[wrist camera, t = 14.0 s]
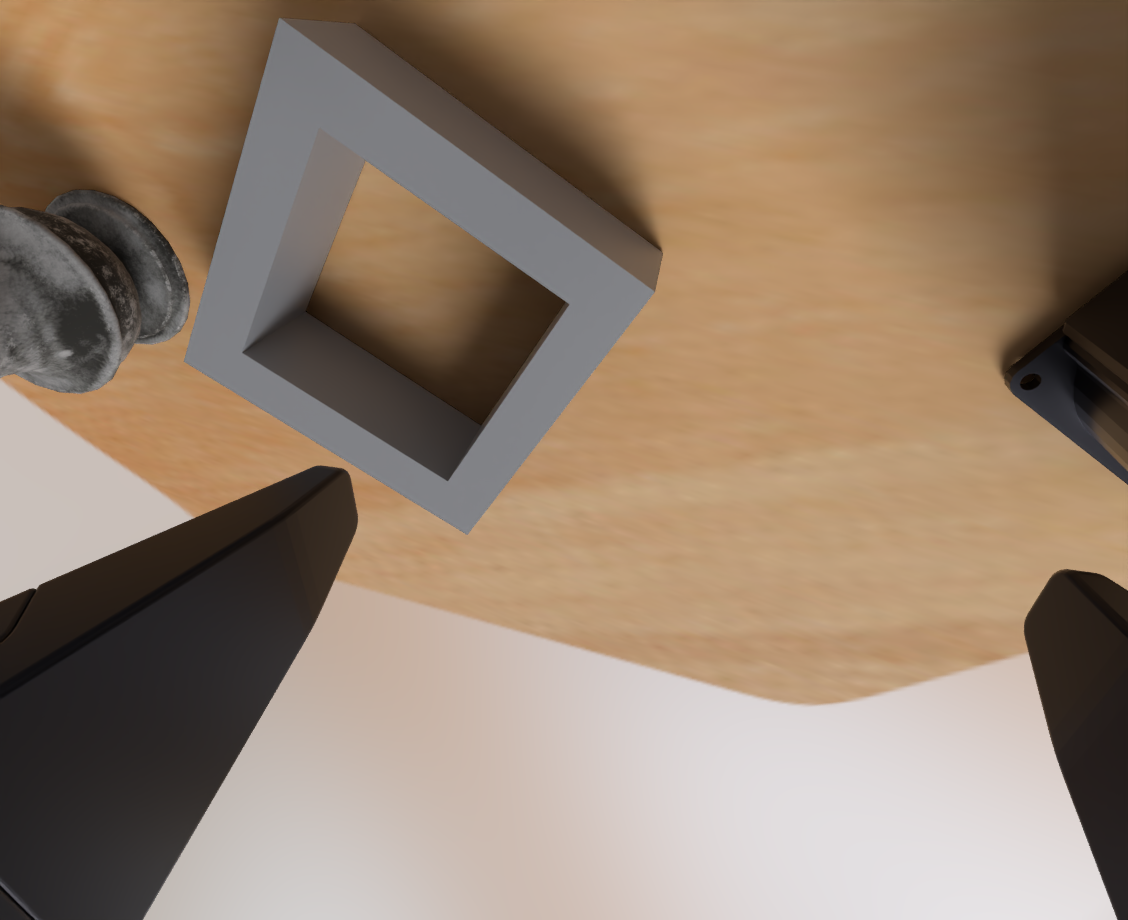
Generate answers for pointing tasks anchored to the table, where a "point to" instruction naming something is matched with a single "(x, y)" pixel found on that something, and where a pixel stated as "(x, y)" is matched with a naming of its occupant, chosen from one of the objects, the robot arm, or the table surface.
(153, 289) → the salt shaker
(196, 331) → the socket block
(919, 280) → the table surface
